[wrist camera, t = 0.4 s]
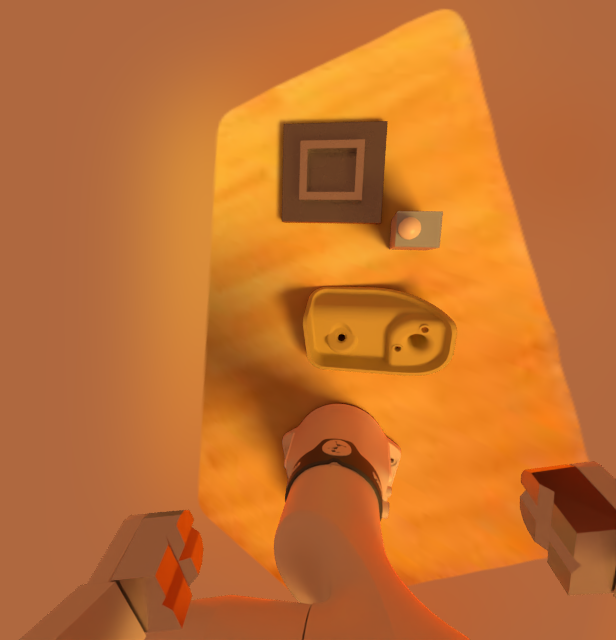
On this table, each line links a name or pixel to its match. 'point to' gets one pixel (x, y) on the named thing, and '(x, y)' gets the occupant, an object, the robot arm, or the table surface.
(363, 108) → the table surface
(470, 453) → the table surface
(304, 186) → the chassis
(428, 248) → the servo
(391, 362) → the plastic component
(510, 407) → the table surface
